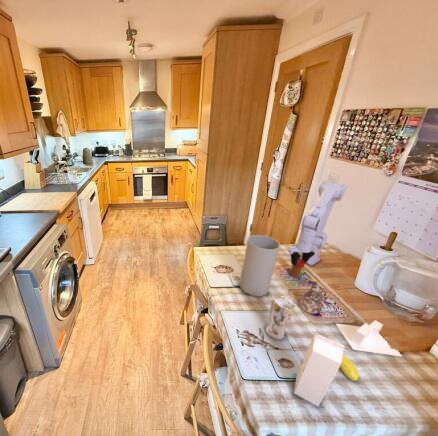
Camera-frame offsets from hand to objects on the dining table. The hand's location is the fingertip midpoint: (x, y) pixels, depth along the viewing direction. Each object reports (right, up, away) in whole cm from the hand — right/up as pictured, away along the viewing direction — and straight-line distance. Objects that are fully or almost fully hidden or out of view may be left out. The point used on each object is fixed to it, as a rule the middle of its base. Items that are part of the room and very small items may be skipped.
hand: (298, 263), depth 114 cm
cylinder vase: (-25, -11, -5) cm, 27 cm away
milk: (-28, -29, -46) cm, 61 cm away
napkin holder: (+5, -22, -30) cm, 37 cm away
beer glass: (-27, -21, -27) cm, 43 cm away
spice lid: (0, +1, -1) cm, 2 cm away
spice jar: (0, -6, +3) cm, 7 cm away
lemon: (-11, -26, -40) cm, 49 cm away
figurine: (-6, -15, -16) cm, 23 cm away
